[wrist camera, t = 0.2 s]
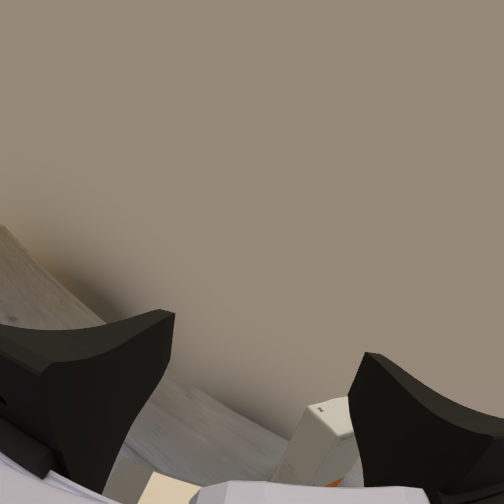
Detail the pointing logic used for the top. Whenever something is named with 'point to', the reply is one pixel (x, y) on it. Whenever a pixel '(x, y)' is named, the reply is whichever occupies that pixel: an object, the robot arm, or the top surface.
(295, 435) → the skincare box
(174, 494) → the tower mid
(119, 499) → the mat
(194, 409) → the top surface
